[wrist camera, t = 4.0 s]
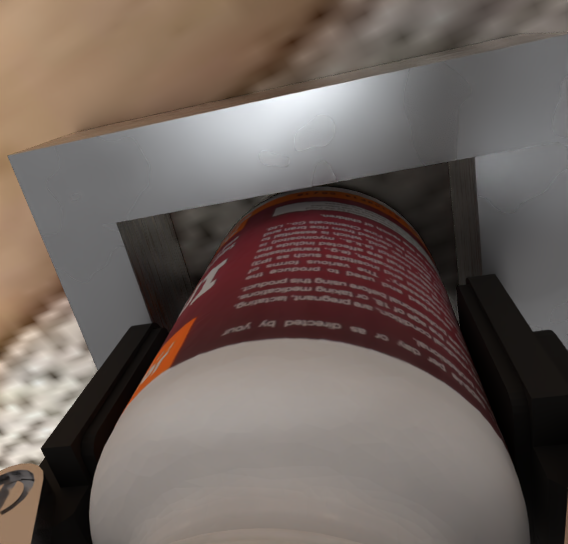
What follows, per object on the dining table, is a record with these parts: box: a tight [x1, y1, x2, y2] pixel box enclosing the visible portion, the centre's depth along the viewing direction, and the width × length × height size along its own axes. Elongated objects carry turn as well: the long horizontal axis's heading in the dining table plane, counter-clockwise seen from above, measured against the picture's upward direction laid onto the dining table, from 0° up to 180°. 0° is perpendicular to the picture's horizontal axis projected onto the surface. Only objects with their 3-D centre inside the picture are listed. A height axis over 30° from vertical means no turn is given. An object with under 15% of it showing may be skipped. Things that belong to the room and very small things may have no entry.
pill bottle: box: [89, 187, 530, 544], centre depth 10 cm, size 6×6×11 cm
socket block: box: [8, 32, 568, 370], centre depth 13 cm, size 11×11×3 cm
